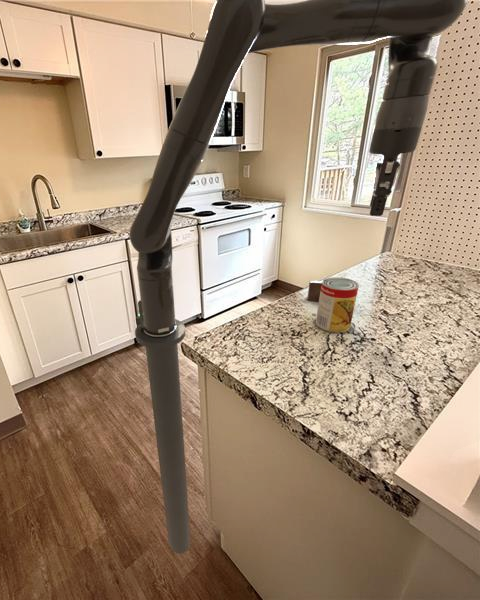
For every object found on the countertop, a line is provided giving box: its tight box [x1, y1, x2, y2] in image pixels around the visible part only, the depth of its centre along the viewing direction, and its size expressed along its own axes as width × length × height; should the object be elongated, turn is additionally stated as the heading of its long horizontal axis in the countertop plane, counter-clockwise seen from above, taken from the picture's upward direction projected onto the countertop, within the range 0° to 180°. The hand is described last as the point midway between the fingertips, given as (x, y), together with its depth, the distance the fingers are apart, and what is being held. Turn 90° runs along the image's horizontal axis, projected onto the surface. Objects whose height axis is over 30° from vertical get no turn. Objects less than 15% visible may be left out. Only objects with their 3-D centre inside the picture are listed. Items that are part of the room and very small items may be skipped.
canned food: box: [315, 276, 360, 333], centre depth 79 cm, size 8×8×12 cm
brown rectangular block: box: [306, 279, 323, 302], centre depth 93 cm, size 10×2×6 cm, turn 68°
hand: (375, 211), depth 67 cm, fingers open, 8 cm apart
